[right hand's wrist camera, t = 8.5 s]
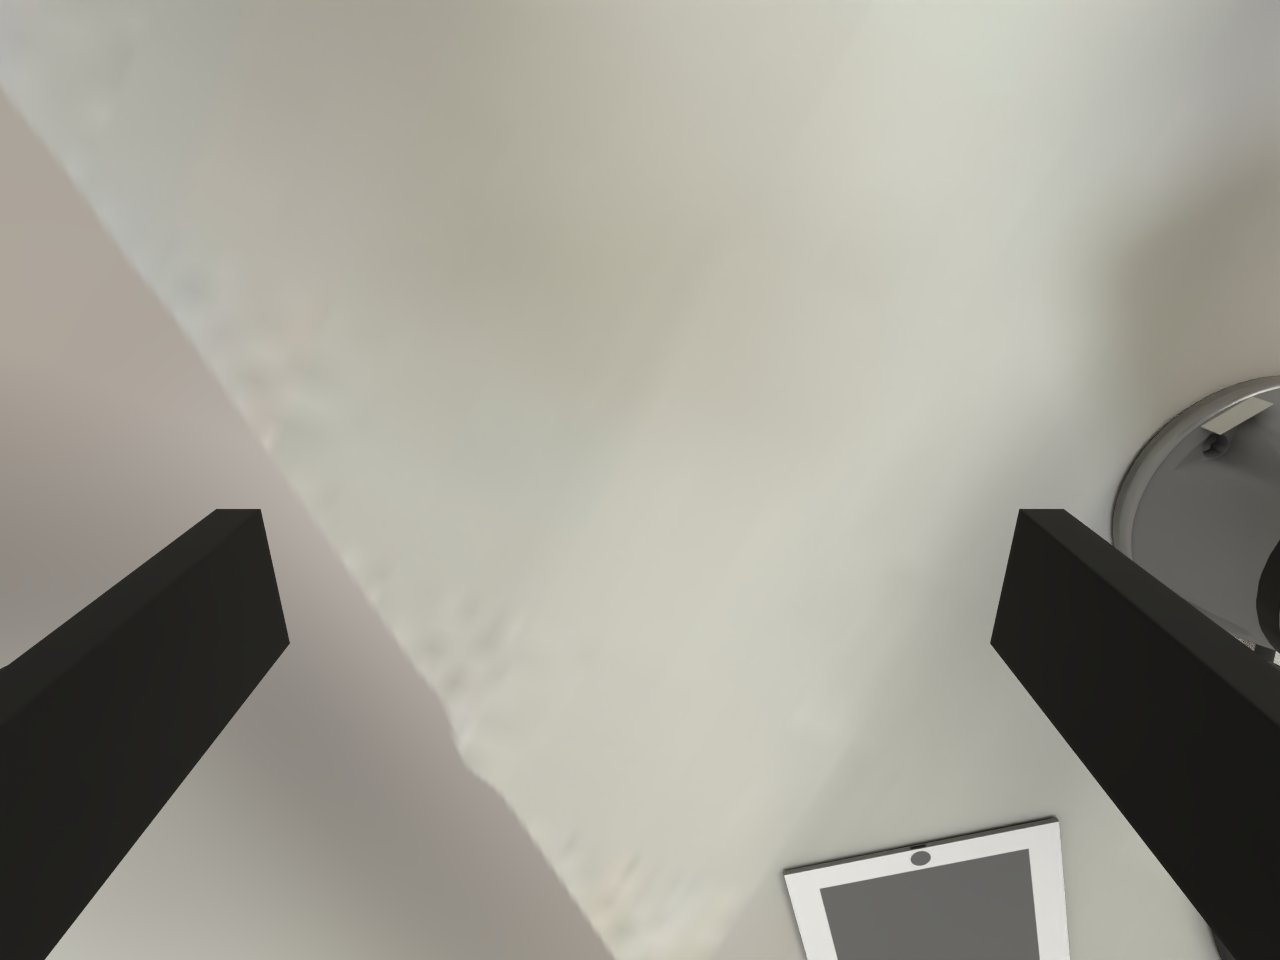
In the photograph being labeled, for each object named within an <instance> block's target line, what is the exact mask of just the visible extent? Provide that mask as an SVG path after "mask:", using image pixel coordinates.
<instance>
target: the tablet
mask: <svg viewBox="0 0 1280 960" xmlns="http://www.w3.org/2000/svg"><path fill="white" fill-rule="evenodd" d="M783 873H784V877H785V881H786V884H787V888H788V891H789V895H790V898H791V902H792V905H793V909H794V913H795V916H796V920H797V923H798V927H799V930H800V934H801V938H802V941H803V945H804V948H805V952H806V955H807V959H808V960H1070V956H1069V943H1068V930H1067V917H1066V904H1065V891H1064V878H1063V866H1062V853H1061V840H1060V827H1059V820H1058V819H1057V818H1051V819H1046V820H1041V821H1036V822H1031V823H1026V824H1021V825H1015V826H1010V827H1005V828H1000V829H995V830H990V831H985V832H980V833H975V834H970V835H965V836H959V837H954V838H949V839H944V840H939V841H934V842H929V843H924V844H919V845H914V846H909V847H903V848H898V849H893V850H888V851H883V852H878V853H873V854H868V855H863V856H858V857H853V858H847V859H842V860H837V861H832V862H827V863H822V864H817V865H812V866H807V867H802V868H797V869H791V870H786V871H783Z"/></svg>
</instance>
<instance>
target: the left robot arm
mask: <svg viewBox="0 0 1280 960" xmlns="http://www.w3.org/2000/svg"><path fill="white" fill-rule="evenodd" d="M1113 542H1114V547H1115V548H1116V549H1118V550H1119V551H1120V552H1122V553H1123V554H1124V555H1126V556H1127V557H1128V558H1130V559H1131V560H1132V561H1134V562H1135V563H1136V564H1138V565H1139V566H1140V567H1142V568H1143V569H1144V570H1146V571H1147V572H1148V573H1150V574H1151V575H1152V576H1154V577H1155V578H1156V579H1158V580H1159V581H1160V582H1162V583H1163V584H1164V585H1166V586H1167V587H1168V588H1170V589H1171V590H1172V591H1174V592H1175V593H1176V594H1178V595H1179V596H1180V597H1182V598H1183V599H1184V600H1186V601H1187V602H1188V603H1190V604H1191V605H1192V606H1194V607H1195V608H1196V609H1198V610H1199V611H1200V612H1202V613H1203V614H1204V615H1206V616H1207V617H1208V618H1210V619H1211V620H1212V621H1214V622H1215V623H1216V624H1218V625H1219V626H1220V627H1222V628H1223V629H1224V630H1226V631H1227V632H1228V633H1230V634H1231V635H1232V636H1234V637H1237V638H1240V639H1243V640H1246V641H1249V642H1252V643H1255V644H1256V645H1255V650H1254V652H1255V653H1256V654H1258V655H1259V656H1260V657H1262V658H1263V659H1264V660H1266V661H1267V662H1273V661H1274V656H1275V652H1276V651H1277V652H1279V653H1280V376H1271V377H1264V378H1258V379H1253V380H1249V381H1246V382H1242V383H1239V384H1236V385H1233V386H1230V387H1228V388H1225V389H1223V390H1220V391H1218V392H1216V393H1214V394H1212V395H1210V396H1208V397H1206V398H1204V399H1202V400H1201V401H1199V402H1197V403H1195V404H1194V405H1192V406H1191V407H1189V408H1188V409H1186V410H1185V411H1183V412H1182V413H1181V414H1179V415H1178V416H1177V417H1175V418H1174V419H1173V420H1172V421H1171V422H1169V423H1168V424H1167V425H1166V426H1165V427H1164V428H1163V429H1162V430H1161V431H1160V432H1159V433H1158V434H1157V435H1156V436H1155V437H1154V438H1153V439H1152V440H1151V441H1150V442H1149V443H1148V445H1147V446H1146V447H1145V448H1144V449H1143V451H1142V452H1141V453H1140V455H1139V456H1138V458H1137V459H1136V461H1135V462H1134V464H1133V465H1132V467H1131V469H1130V470H1129V472H1128V474H1127V476H1126V478H1125V480H1124V482H1123V484H1122V487H1121V489H1120V492H1119V495H1118V498H1117V502H1116V506H1115V510H1114V517H1113ZM1211 930H1212V929H1211ZM1212 933H1213V937H1214V940H1215V943H1216V946H1217V949H1218V952H1219V954H1220V957H1221V959H1222V960H1235V959H1234V957H1233V956H1232V955H1231V953H1230V952H1229V951H1228V950H1227V948H1226V947H1225V946H1224V944H1223V943H1222V942H1221V940H1220V939H1219V938H1218V937H1217V935H1216V934H1215V933H1214V931H1213V930H1212Z"/></svg>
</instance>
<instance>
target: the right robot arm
mask: <svg viewBox="0 0 1280 960" xmlns="http://www.w3.org/2000/svg"><path fill="white" fill-rule="evenodd" d="M289 644H290V642H289V638H288V633H287V628H286V624H285V619H284V615H283V610H282V605H281V601H280V596H279V592H278V587H277V582H276V578H275V573H274V569H273V564H272V560H271V555H270V550H269V546H268V541H267V536H266V532H265V527H264V523H263V518H262V513H261V509H216V510H215V511H213V512H212V513H210V514H209V515H208V516H206V517H205V518H204V519H202V520H201V521H200V522H198V523H197V524H196V525H194V526H193V527H192V528H190V529H189V530H188V531H186V532H185V533H184V534H183V535H181V536H180V537H178V538H177V539H176V540H174V541H173V542H172V543H170V544H169V545H168V546H167V547H165V548H164V549H162V550H161V551H160V552H159V553H157V554H156V555H155V556H153V557H152V558H150V559H149V560H148V561H146V562H145V563H144V564H142V565H141V566H140V567H138V568H137V569H136V570H135V571H133V572H132V573H130V574H129V575H128V576H126V577H125V578H124V579H122V580H121V581H120V582H118V583H117V584H116V585H114V586H113V587H112V588H110V589H109V590H108V591H106V592H105V593H104V594H102V595H101V596H100V597H98V598H97V599H96V600H94V601H93V602H92V603H91V604H89V605H88V606H86V607H85V608H84V609H82V610H81V611H80V612H78V613H77V614H76V615H74V616H73V617H72V618H70V619H69V620H68V621H66V622H65V623H64V624H62V625H61V626H60V627H58V628H57V629H56V630H54V631H53V632H52V633H50V634H49V635H48V636H46V637H45V638H44V639H43V640H41V641H40V642H38V643H37V644H36V645H34V646H33V647H32V648H30V649H29V650H28V651H26V652H25V653H24V654H22V655H21V656H20V657H18V658H17V659H16V660H15V661H13V662H12V663H10V664H9V665H7V666H5V667H3V668H1V669H0V960H45V959H46V957H47V956H48V955H49V953H50V952H51V951H52V949H53V948H54V947H55V946H56V944H57V943H58V942H59V940H60V939H61V938H62V937H63V935H64V934H65V933H66V931H67V930H68V929H69V928H70V926H71V925H72V924H73V922H74V921H75V920H76V918H77V917H78V916H79V915H80V913H81V912H82V911H83V910H84V908H85V907H86V906H87V904H88V903H89V902H90V900H91V899H92V898H93V897H94V895H95V894H96V893H97V891H98V890H99V889H100V888H101V886H102V885H103V884H104V882H105V881H106V880H107V878H108V877H109V876H110V875H111V873H112V872H113V871H114V870H115V868H116V867H117V866H118V864H119V863H120V862H121V860H122V859H123V858H124V857H125V855H126V854H127V853H128V851H129V850H130V849H131V848H132V846H133V845H134V844H135V842H136V841H137V840H138V838H139V837H140V836H141V835H142V833H143V832H144V831H145V829H146V828H147V827H148V826H149V824H150V823H151V822H152V820H153V819H154V818H155V817H156V815H157V814H158V813H159V811H160V810H161V809H162V808H163V806H164V805H165V804H166V802H167V801H168V800H169V798H170V797H171V796H172V795H173V793H174V792H175V791H176V789H177V788H178V787H179V786H180V784H181V783H182V782H183V780H184V779H185V778H186V777H187V775H188V774H189V773H190V771H191V770H192V769H193V768H194V766H195V765H196V764H197V762H198V761H199V760H200V759H201V757H202V756H203V755H204V753H205V752H206V751H207V749H208V748H209V747H210V746H211V744H212V743H213V742H214V740H215V739H216V738H217V737H218V735H219V734H220V733H221V731H222V730H223V729H224V728H225V726H226V725H227V724H228V722H229V721H230V720H231V718H232V717H233V716H234V715H235V713H236V712H237V711H238V709H239V708H240V707H241V706H242V704H243V703H244V702H245V700H246V699H247V698H248V697H249V695H250V694H251V693H252V691H253V690H254V689H255V688H256V686H257V685H258V684H259V682H260V681H261V680H262V679H263V677H264V676H265V675H266V673H267V672H268V671H269V669H270V668H271V667H272V666H273V664H274V663H275V662H276V660H277V659H278V658H279V657H280V655H281V654H282V653H283V651H284V650H285V649H286V648H287V646H288V645H289ZM990 644H991V645H992V646H993V648H994V649H995V650H996V651H997V653H998V654H999V655H1000V657H1001V658H1002V659H1003V660H1004V662H1005V663H1006V664H1007V666H1008V667H1009V668H1010V670H1011V671H1012V672H1013V673H1014V675H1015V676H1016V677H1017V679H1018V680H1019V681H1020V682H1021V684H1022V685H1023V686H1024V688H1025V689H1026V690H1027V691H1028V693H1029V694H1030V695H1031V697H1032V698H1033V699H1034V700H1035V702H1036V703H1037V704H1038V706H1039V707H1040V708H1041V710H1042V711H1043V712H1044V713H1045V715H1046V716H1047V717H1048V719H1049V720H1050V721H1051V722H1052V724H1053V725H1054V726H1055V728H1056V729H1057V730H1058V731H1059V733H1060V734H1061V735H1062V737H1063V738H1064V739H1065V740H1066V742H1067V743H1068V744H1069V746H1070V747H1071V748H1072V750H1073V751H1074V752H1075V753H1076V755H1077V756H1078V757H1079V759H1080V760H1081V761H1082V762H1083V764H1084V765H1085V766H1086V768H1087V769H1088V770H1089V771H1090V773H1091V774H1092V775H1093V777H1094V778H1095V779H1096V780H1097V782H1098V783H1099V784H1100V786H1101V787H1102V788H1103V790H1104V791H1105V792H1106V793H1107V795H1108V796H1109V797H1110V799H1111V800H1112V801H1113V802H1114V804H1115V805H1116V806H1117V808H1118V809H1119V810H1120V811H1121V813H1122V814H1123V815H1124V817H1125V818H1126V819H1127V820H1128V822H1129V823H1130V824H1131V826H1132V827H1133V828H1134V830H1135V831H1136V832H1137V833H1138V835H1139V836H1140V837H1141V839H1142V840H1143V841H1144V842H1145V844H1146V845H1147V846H1148V848H1149V849H1150V850H1151V851H1152V853H1153V854H1154V855H1155V857H1156V858H1157V859H1158V860H1159V862H1160V863H1161V864H1162V866H1163V867H1164V868H1165V870H1166V871H1167V872H1168V873H1169V875H1170V876H1171V877H1172V879H1173V880H1174V881H1175V882H1176V884H1177V885H1178V886H1179V888H1180V889H1181V890H1182V891H1183V893H1184V894H1185V895H1186V897H1187V898H1188V899H1189V900H1190V902H1191V903H1192V904H1193V906H1194V907H1195V908H1196V910H1197V911H1198V912H1199V913H1200V915H1201V916H1202V917H1203V919H1204V920H1205V921H1206V922H1207V924H1208V925H1209V926H1210V928H1211V929H1212V930H1213V931H1214V933H1215V934H1216V935H1217V937H1218V938H1219V939H1220V940H1221V942H1222V943H1223V944H1224V946H1225V947H1226V948H1227V950H1228V951H1229V952H1230V953H1231V955H1232V956H1233V957H1234V959H1235V960H1280V666H1279V665H1277V664H1275V663H1273V662H1267V661H1266V660H1264V659H1263V658H1262V657H1260V656H1259V655H1258V654H1256V653H1255V652H1254V651H1252V650H1251V649H1250V648H1248V647H1247V646H1246V645H1244V644H1243V643H1242V642H1240V641H1239V640H1238V639H1236V638H1235V637H1234V636H1232V635H1231V634H1230V633H1228V632H1227V631H1226V630H1224V629H1223V628H1222V627H1220V626H1219V625H1218V624H1216V623H1215V622H1214V621H1212V620H1211V619H1210V618H1208V617H1207V616H1206V615H1204V614H1203V613H1202V612H1200V611H1199V610H1198V609H1196V608H1195V607H1194V606H1192V605H1191V604H1190V603H1188V602H1187V601H1186V600H1184V599H1183V598H1182V597H1180V596H1179V595H1178V594H1176V593H1175V592H1174V591H1172V590H1171V589H1170V588H1168V587H1167V586H1166V585H1164V584H1163V583H1162V582H1160V581H1159V580H1158V579H1156V578H1155V577H1154V576H1152V575H1151V574H1150V573H1148V572H1147V571H1146V570H1144V569H1143V568H1142V567H1140V566H1139V565H1138V564H1136V563H1135V562H1134V561H1132V560H1131V559H1130V558H1128V557H1127V556H1126V555H1124V554H1123V553H1122V552H1120V551H1119V550H1118V549H1116V548H1115V547H1114V546H1112V545H1111V544H1110V543H1108V542H1107V541H1106V540H1104V539H1103V538H1102V537H1100V536H1099V535H1098V534H1096V533H1095V532H1094V531H1092V530H1091V529H1090V528H1088V527H1087V526H1086V525H1084V524H1083V523H1082V522H1080V521H1079V520H1078V519H1076V518H1075V517H1074V516H1072V515H1071V514H1070V513H1068V512H1067V511H1066V510H1064V509H1019V513H1018V518H1017V523H1016V527H1015V532H1014V536H1013V541H1012V546H1011V550H1010V555H1009V559H1008V564H1007V569H1006V573H1005V578H1004V582H1003V587H1002V592H1001V596H1000V601H999V605H998V610H997V614H996V619H995V624H994V628H993V633H992V637H991V642H990Z"/></svg>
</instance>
